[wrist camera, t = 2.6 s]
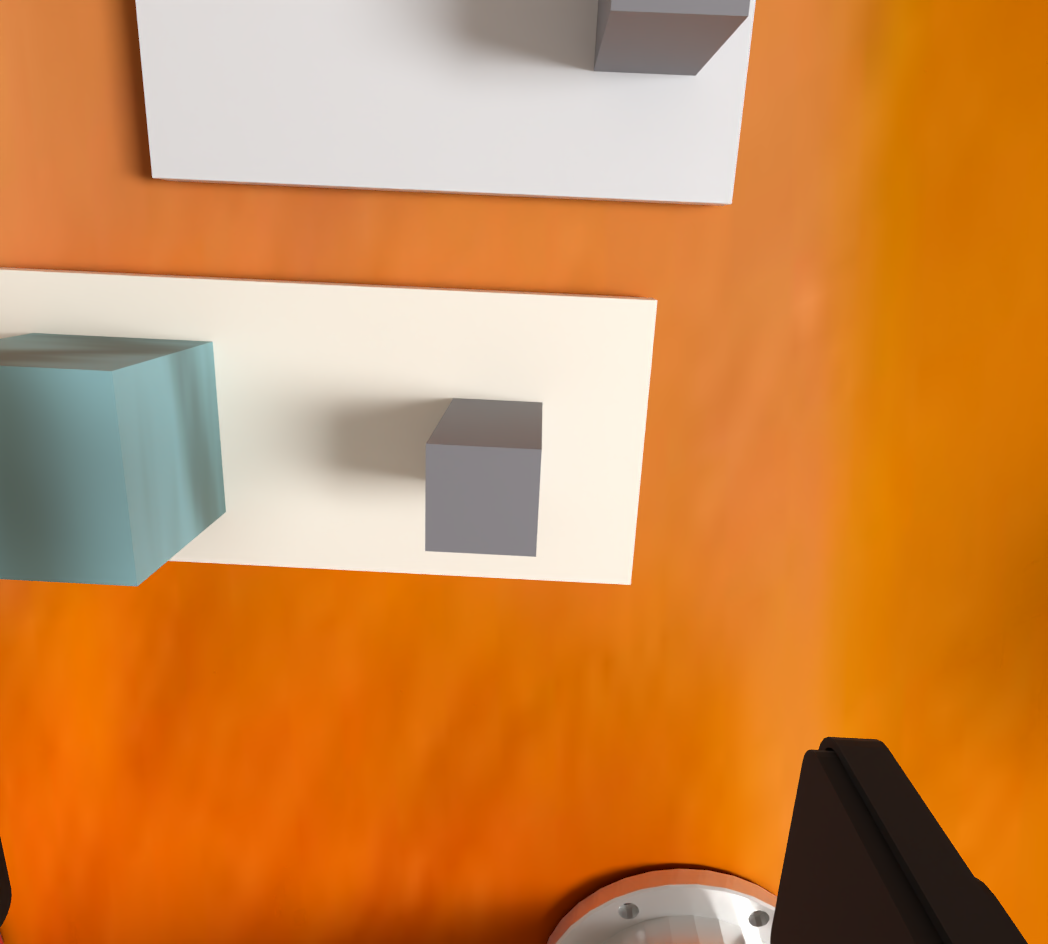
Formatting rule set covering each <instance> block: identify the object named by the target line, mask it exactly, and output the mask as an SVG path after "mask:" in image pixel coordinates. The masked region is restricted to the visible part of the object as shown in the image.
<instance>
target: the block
mask: <svg viewBox="0 0 1048 944" xmlns="http://www.w3.org/2000/svg"><path fill="white" fill-rule="evenodd" d="M225 512H226V506H225V493H224V480H223V468H222V455H221V442H220V429H219V416H218V403H217V391H216V378H215V365H214V352H213V342H210V341H190V340H169V339H148V338H127V337H106V336H85V335H65V334H44V333H30V334H25V335H19V336H13V337H7V338H1V339H0V579H10V580H29V581H48V582H67V583H86V584H105V585H124V586H138V585H140V584H141V583H142V582H143V581H144V580H145V579H147V578H148V577H149V576H150V575H151V574H153V573H154V572H155V571H156V570H157V569H159V568H160V567H161V566H162V565H163V564H165V563H166V562H167V561H168V560H169V559H171V558H172V557H173V556H174V555H175V554H176V553H178V552H179V551H180V550H181V549H182V548H184V547H185V546H186V545H187V544H188V543H190V542H191V541H192V540H193V539H194V538H196V537H197V536H198V535H199V534H200V533H202V532H203V531H204V530H205V529H206V528H207V527H209V526H210V525H211V524H212V523H213V522H215V521H216V520H217V519H218V518H219V517H221V516H222V515H223V514H224V513H225Z"/></svg>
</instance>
